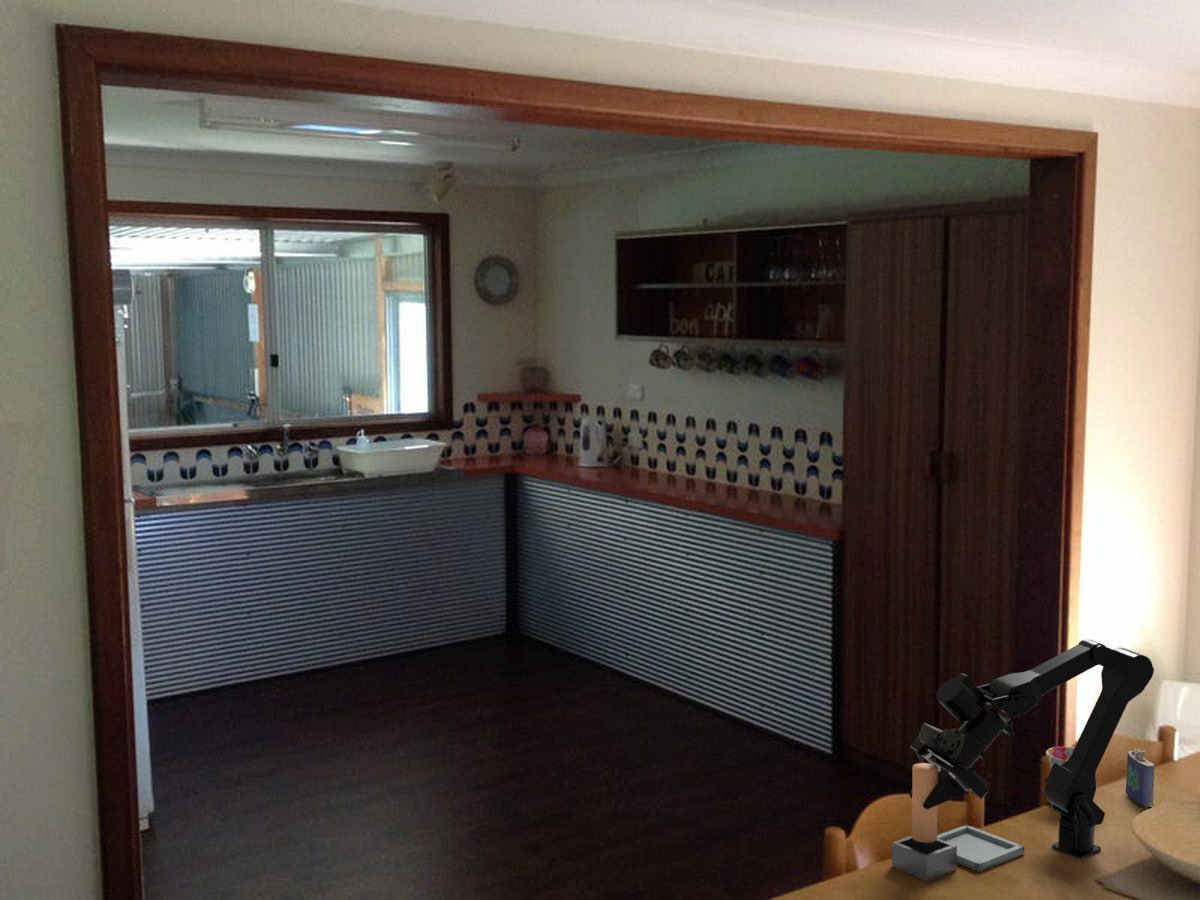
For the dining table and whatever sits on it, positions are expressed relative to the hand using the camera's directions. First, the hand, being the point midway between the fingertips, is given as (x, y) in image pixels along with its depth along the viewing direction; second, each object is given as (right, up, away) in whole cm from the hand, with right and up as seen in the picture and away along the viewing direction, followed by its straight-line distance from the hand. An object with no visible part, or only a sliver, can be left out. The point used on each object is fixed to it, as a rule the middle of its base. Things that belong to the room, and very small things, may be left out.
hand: (917, 802), depth 230 cm
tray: (+12, -11, +9) cm, 19 cm away
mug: (+40, -9, +32) cm, 52 cm away
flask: (+53, -9, +34) cm, 64 cm away
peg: (+1, -7, +1) cm, 7 cm away
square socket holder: (+1, -12, +2) cm, 12 cm away
